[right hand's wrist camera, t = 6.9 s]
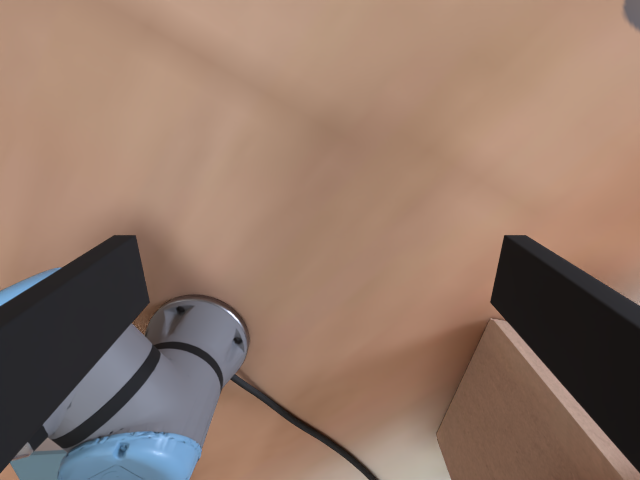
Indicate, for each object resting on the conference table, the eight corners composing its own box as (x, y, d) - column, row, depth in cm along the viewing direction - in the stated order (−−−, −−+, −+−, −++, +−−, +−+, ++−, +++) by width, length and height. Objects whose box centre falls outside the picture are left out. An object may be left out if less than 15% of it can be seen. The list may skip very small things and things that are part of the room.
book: (156, 422, 60) (142, 449, 55) (176, 484, 66) (166, 512, 61) (30, 429, 60) (6, 456, 56) (62, 489, 66) (42, 518, 61)
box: (552, 488, 66) (697, 726, 41) (375, 461, 63) (412, 699, 38) (684, 298, 51) (1051, 490, 25) (457, 252, 48) (612, 415, 22)
